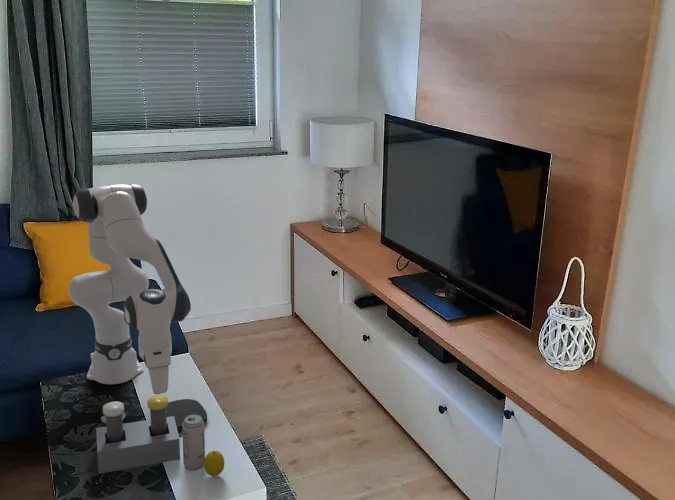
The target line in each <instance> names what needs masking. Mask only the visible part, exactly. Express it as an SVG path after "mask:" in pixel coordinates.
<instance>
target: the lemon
mask: <svg viewBox="0 0 675 500" xmlns="http://www.w3.org/2000/svg"><path fill="white" fill-rule="evenodd" d="M203 467H204V470H205V473H206V474H207V475H209V476H211V477H216V476H218V475H221V473H222V472H223V470H224V468H225V458H224V456H223V454H222V453H221V452H220V451H218V450H212V451H209V452H208V453H207V454H205V460H204V465H203Z"/></svg>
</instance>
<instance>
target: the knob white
mask: <svg viewBox="0 0 675 500" xmlns="http://www.w3.org/2000/svg"><path fill="white" fill-rule="evenodd" d="M123 412H124V413H125V405H124V403H123V402H121V401H117V400H116V401H109V402H107V403H105V404H104V405H103V406H102V414H103V416H106V423H105V425H106V429H107V442H108V443H114V442H120V441H124V435H123V424H124V419H122V413H123Z"/></svg>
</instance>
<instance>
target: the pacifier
mask: <svg viewBox="0 0 675 500" xmlns="http://www.w3.org/2000/svg"><path fill="white" fill-rule="evenodd" d="M125 418H126V412H125V411H124V412H123V413H122V419H123V420H124V419H125ZM100 420H101V422H102V423H104V424H106V416H105V415H103V416H101V417H100Z"/></svg>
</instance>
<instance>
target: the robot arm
mask: <svg viewBox="0 0 675 500" xmlns="http://www.w3.org/2000/svg"><path fill="white" fill-rule="evenodd" d="M147 207H148V198H147V194H146V191H145V189H144V188H143V187H142V186H141V185H140V184H136V183H129V184H108V185H101V186H96V187H95V186H94V187H90V188H88V187H85V188H82V189H79V190H78V189H77V191H76V192H75V193H74V195H73V199H72V209H73V213H74V214H75V216H76V218H77V220H79V221H81V222H83V223H87V232H88V233H87V235H88V244H89V245H88V247H89V249H88V250H89V255H90V256H91V258H92V259H93V260H95V261H96V262H98V263H101V264H103V265H107V266H109V269H107V270H99V271H91V272H86V273H82V274H79V275H77V276H74V277H72V279H71V280H70V281H69V283H68V288H67V289H68V295H69V298H70V300H71V301H72V302H73V304H75V305H77V306H79V307H81V308H83V309H84V310H85V311H86V312H87V313H89V315H90V317H91V319H92V321H93V327H94V330H95V339H94V350H95V351H94V352H91V353H90V360H91V364H90V366H89V369H88V372H87V375H86V380H89V381H90V380H91V381H95V382H97V383H99V384H103V385H117V384H123V383H126V382H128V381H130V380H132V379H133V378H135V377H136V376H137V375H139V374H141V373H144V368H143V366H142V365H141V363H140V362H139V360H138V357H137V351H136V350H135V349H134V348H133V347H132V342H133V341H132V336H131V334H130V327H131V328H133V329H134V330H138V336H137V337H138V338H137V340H138V341H137V342H138V355H139V357H140V358H141V359H142V361H143V362H144V364H145V367H146V369H148V374H149V377H150V378H149V379H150V384H151V389H152V393H153V394H154V395H160V394H165V393H167V391H168V387H169V372H170V371H169V370H170V368H169V367H170V366H171V365H172V359H171V356H172V352H173V345H172V344H173V343H172V333H171V330H170V327H171V323H177V322H183V321H184V320H185V319H186V318H187V317H188V315H189V313H190V312H191V309H192V307H191V306H192V305H191V301H190V297H189V295H188V293H187V291H186V290H185V288H184V286H183V285H182V283H181V281H180V278H179V277H178V275H177V272H176V271H175V268H174V267H173V265H172V261H171V260H170V258H169V256H168V254H167V251H166V250H165V247H164V246H163V245H162V243H161V242H160V240H159V239H157V238H155V237H153V236H152V235H150V233H149V232H148V231H147V229H146V228H145V226H144V223H143V219H142V215H144V213H145V212H146V211H147ZM131 259H134V260H138V261H142V262H146V263H148V264H150V266H152V267H154V270H155V271H156V273H157V275H158V278H159V279H160V282H161V285H162V286H163V288H164V289H163V288H162V289H158V288H157V289H156V288H149V284H150V281H149V277H148V275H147V273H146V272H145V271H144V270H143V269H142V268H141V267H138V266H137V265H136V264H134V263H133V262H132V260H131ZM123 301H124V302H123ZM117 302H123V305H122V306H123V310H121V309H119V308H115V307H111V306H110V304H112V303H117Z"/></svg>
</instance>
